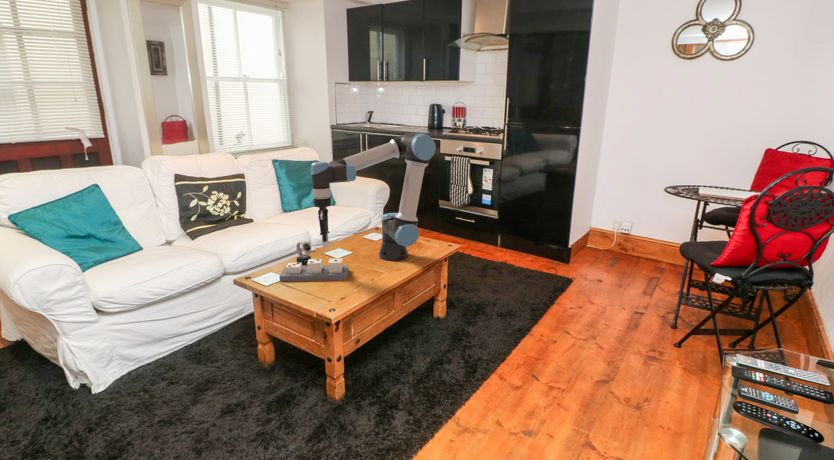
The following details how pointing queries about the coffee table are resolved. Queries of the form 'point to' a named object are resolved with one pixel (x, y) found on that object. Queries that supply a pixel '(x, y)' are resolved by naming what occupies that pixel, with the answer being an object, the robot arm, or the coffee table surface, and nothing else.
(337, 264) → the white die
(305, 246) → the watch
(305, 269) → the board
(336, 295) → the coffee table surface
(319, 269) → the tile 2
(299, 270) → the white die
